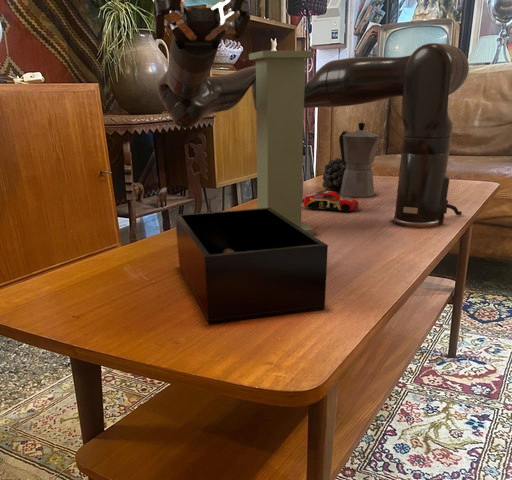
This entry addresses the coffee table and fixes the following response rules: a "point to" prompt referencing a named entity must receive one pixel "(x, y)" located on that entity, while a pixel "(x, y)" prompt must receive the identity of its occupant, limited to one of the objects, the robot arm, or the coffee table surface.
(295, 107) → the post
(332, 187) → the fruit
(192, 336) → the coffee table surface
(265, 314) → the open black box
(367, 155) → the coffeepot
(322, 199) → the race car
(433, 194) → the robot arm
